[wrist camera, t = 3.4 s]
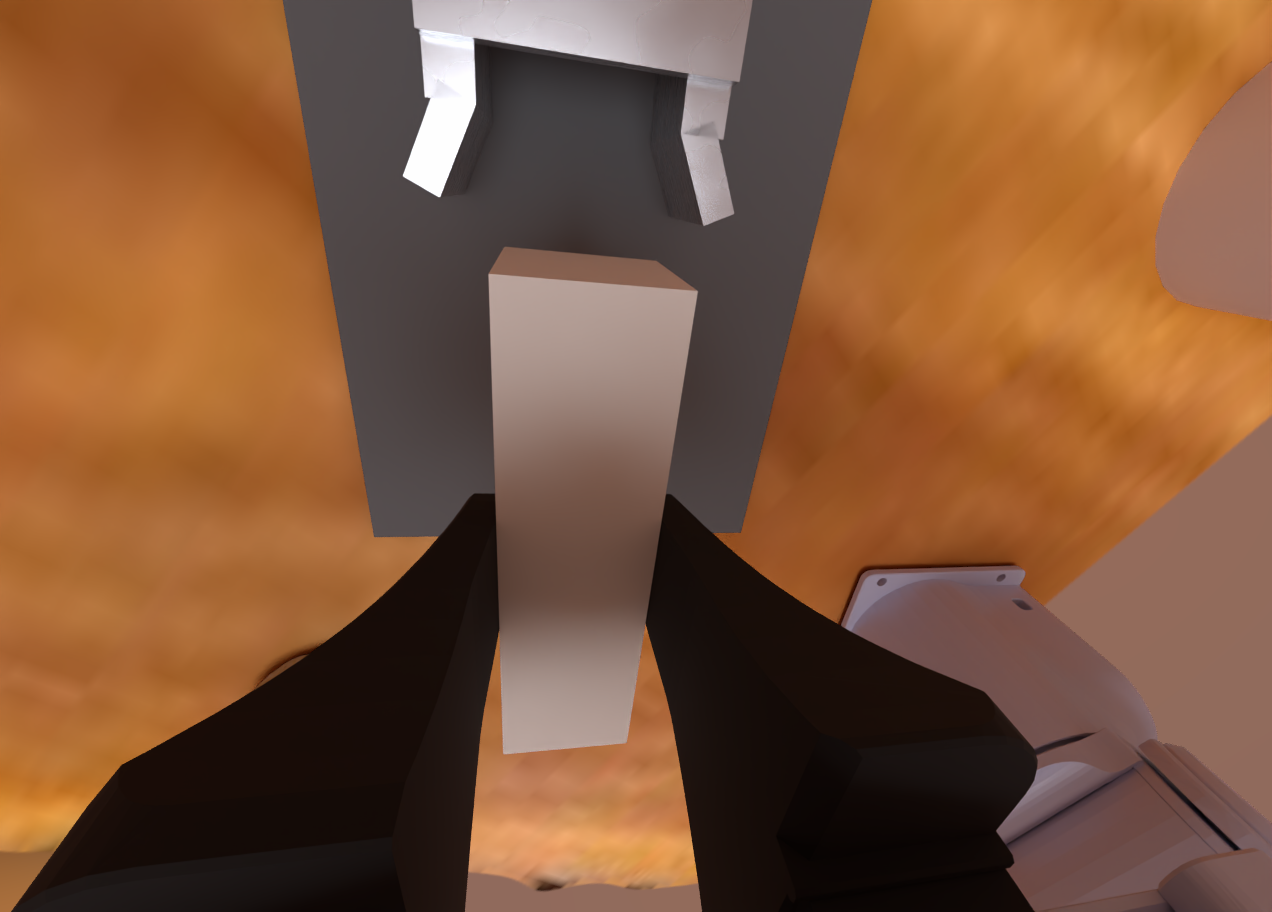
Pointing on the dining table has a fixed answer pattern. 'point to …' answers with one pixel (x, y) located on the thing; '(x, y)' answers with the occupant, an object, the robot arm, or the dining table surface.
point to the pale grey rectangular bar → (579, 481)
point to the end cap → (596, 33)
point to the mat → (557, 236)
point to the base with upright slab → (1224, 210)
